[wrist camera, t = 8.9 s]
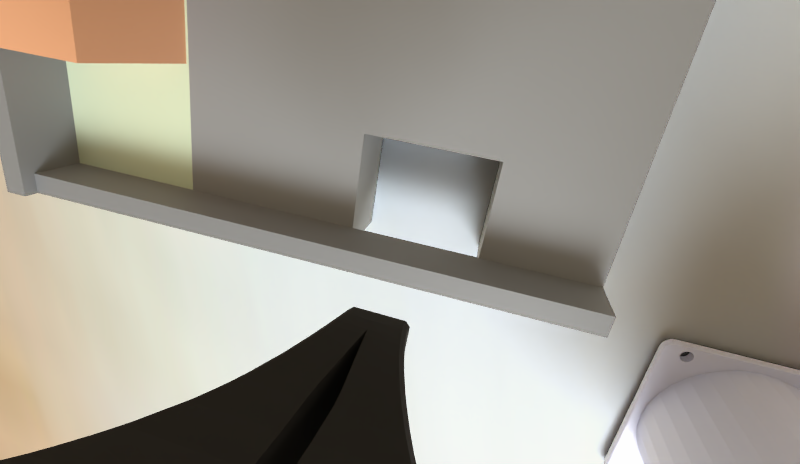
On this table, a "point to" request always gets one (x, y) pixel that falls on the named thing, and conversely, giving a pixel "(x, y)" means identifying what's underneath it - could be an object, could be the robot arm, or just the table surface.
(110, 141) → the board
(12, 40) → the block
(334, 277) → the table surface
